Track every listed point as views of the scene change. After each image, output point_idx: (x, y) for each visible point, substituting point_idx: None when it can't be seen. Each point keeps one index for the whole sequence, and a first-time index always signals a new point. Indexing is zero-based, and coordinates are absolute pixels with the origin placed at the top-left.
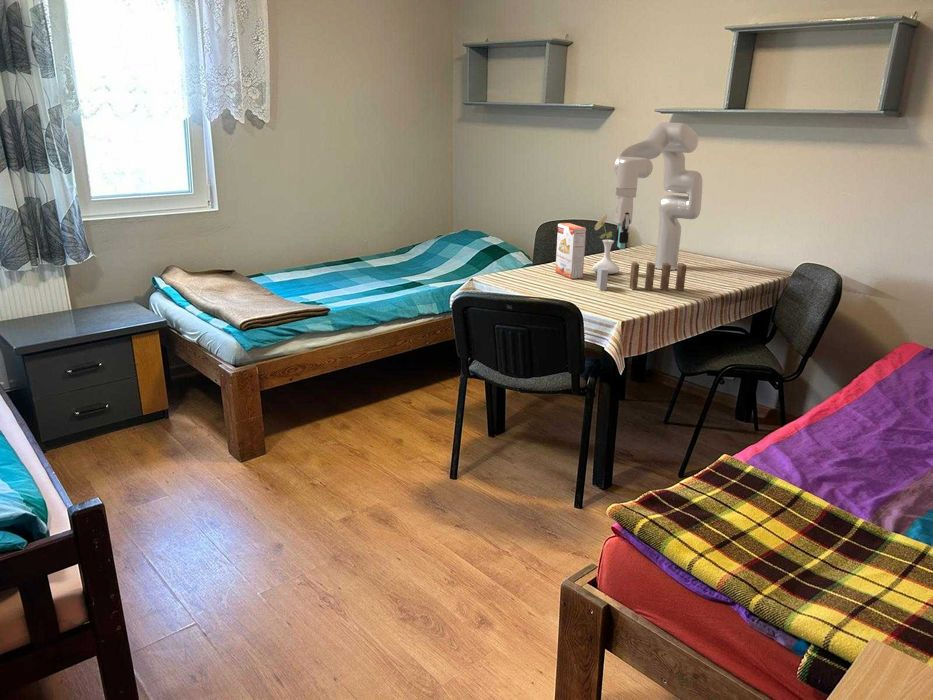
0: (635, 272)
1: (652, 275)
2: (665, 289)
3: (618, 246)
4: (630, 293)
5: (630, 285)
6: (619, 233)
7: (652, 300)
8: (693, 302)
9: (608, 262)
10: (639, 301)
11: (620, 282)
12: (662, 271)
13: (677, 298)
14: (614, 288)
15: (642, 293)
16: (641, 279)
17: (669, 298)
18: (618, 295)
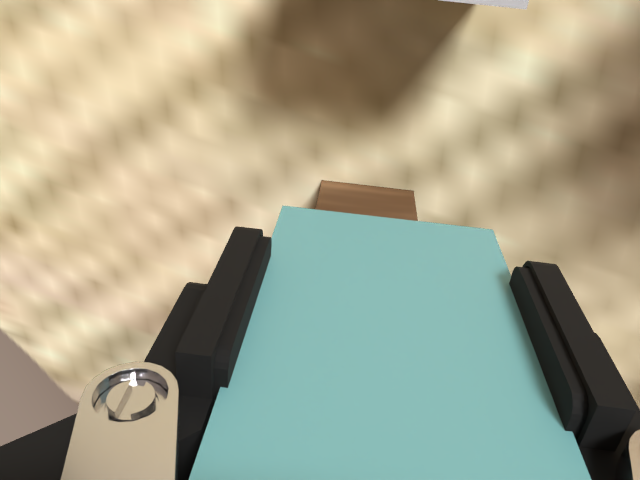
0: None
1: None
2: None
3: (411, 225)
4: (229, 137)
5: (385, 195)
6: (445, 372)
7: (58, 212)
8: (61, 388)
9: None
10: (12, 123)
11: (578, 178)
12: None
13: (132, 352)
14: (386, 67)
15: (234, 215)
16: (631, 342)
17: (125, 316)
18: (159, 26)
